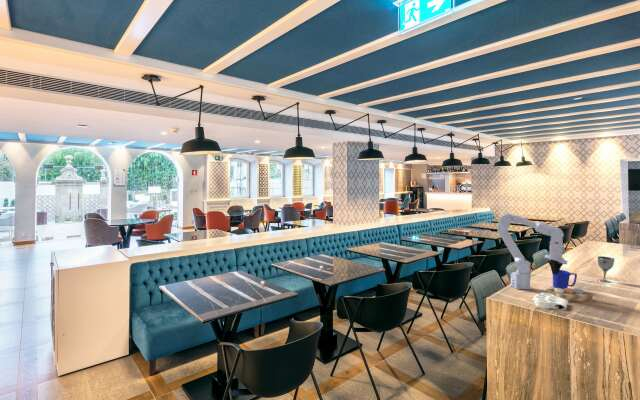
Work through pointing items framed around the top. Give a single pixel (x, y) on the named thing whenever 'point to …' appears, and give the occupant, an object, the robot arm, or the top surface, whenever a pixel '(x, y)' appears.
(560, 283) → the mug
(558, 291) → the pale grey rounded piece
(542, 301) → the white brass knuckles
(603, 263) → the wine glass
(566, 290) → the pink egg
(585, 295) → the wooden compartment tray
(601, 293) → the top surface
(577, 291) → the pale blue rounded lump
